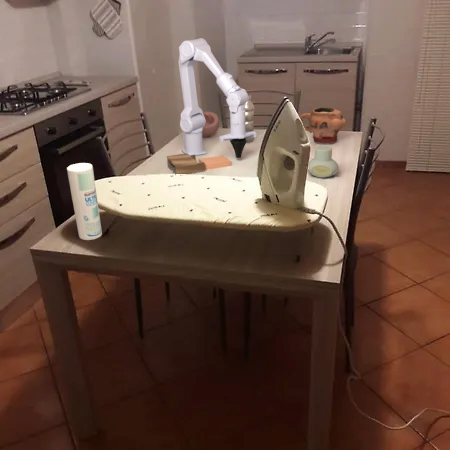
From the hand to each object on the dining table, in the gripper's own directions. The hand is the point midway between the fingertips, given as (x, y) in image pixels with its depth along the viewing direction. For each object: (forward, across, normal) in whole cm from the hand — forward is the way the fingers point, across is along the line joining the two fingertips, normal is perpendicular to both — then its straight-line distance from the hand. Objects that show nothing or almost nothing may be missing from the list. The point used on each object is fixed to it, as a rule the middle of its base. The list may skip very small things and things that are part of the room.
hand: (238, 157), depth 195 cm
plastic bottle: (+2, +14, +23) cm, 27 cm away
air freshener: (+2, +20, -28) cm, 35 cm away
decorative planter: (+2, +42, +8) cm, 43 cm away
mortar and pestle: (+2, +1, +39) cm, 39 cm away
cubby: (+1, -21, 0) cm, 21 cm away
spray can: (+2, -63, -41) cm, 75 cm away
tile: (+2, -10, 0) cm, 10 cm away
